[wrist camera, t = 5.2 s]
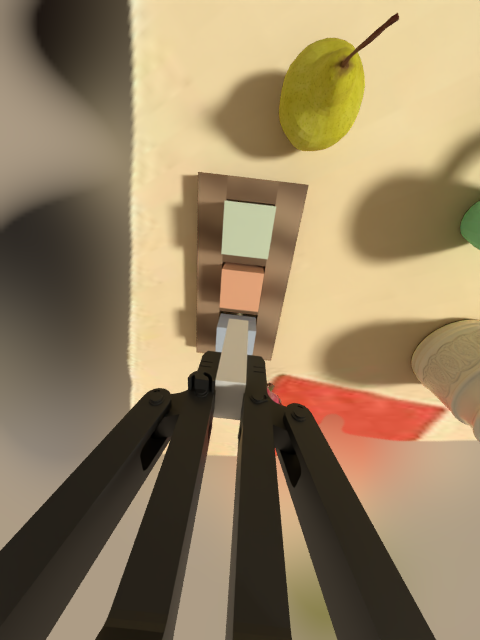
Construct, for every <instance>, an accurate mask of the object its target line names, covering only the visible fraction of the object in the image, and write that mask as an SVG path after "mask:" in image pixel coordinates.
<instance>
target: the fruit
mask: <svg viewBox="0 0 480 640" xmlns="http://www.w3.org/2000/svg"><path fill="white" fill-rule="evenodd" d="M398 20H399V16H398V13H397V14H395V15H393V16H392V17H391V18H390V19H389V20H388V21H387V22H386V23H384V24H383V25H382V26H381V27H379V28H378V29H377V30H376V31H375V32H374V33H373V34H372V35H370V36H369V37H368V38H367V39H366V40H365V41H364V42H363V43H362V44H360V45H359V46H358V47H357V48H356V49H355V48H354V46H353V45H351V44H350V43H348V42H347V41H345V40H341V39H338V38H326V39H322V40H319V41H316V42H314V43H312V44H310V45H308V46H307V47H306V48H305V49H304V50H303V51H302V52H301V53H300V54H299V55H298V56H297V58H296V59H295V60H294V61H293V63H292V64H291V65H290V67H289V69H288V71H287V73H286V75H285V78H284V82H283V86H282V91H281V97H280V105H279V119H280V124H281V126H282V129H283V131H284V133H285V135H286V136H287V138H288V139H289V141H290V142H291V144H292V145H293V146H294V147H296V148H297V149H299V150H302V151H317V150H323V149H326V148H328V147H330V146H332V145H334V144H335V143H337V142H338V141H339V140H340V139H341V138H342V137H344V136H345V135H346V134H347V133H348V131H349V130H350V128H351V127H352V125H353V123H354V122H355V119H356V117H357V114H358V112H359V109H360V105H361V102H362V98H363V93H364V87H365V80H364V71H363V66H362V62H361V59H360V57H359V54H358V51H359V50H361V49H362V48H364V47H365V46H367V45H368V44H369V43H371V42H372V41H373V40H374V39H375V38H376V37H377V36H379V35H380V34H381V33H382V32H383V31H384V30H385V29H386V28H387V27H389V26H390V25H392V24H393V23H395V22H396V21H398Z"/></svg>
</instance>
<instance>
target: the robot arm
mask: <svg viewBox="0 0 480 640" xmlns="http://www.w3.org/2000/svg"><path fill="white" fill-rule="evenodd" d="M247 346H248V321H247V320H238V319H229V321H228V325H227V330H226V335H225V339H224V344H223V348H222V352H215V351H207V352H206V353H205V354H204V355H203V356H202V359H201V362H200V365H199V368H198V371H195V372H193V373H192V374H190V376H189V377H188V390H186V391H184V392H181V393H176V394H170V392H169V391H168V390H166V389H162V388H157V389H153V390H151V391H149V392H147V393H146V394H145V395H144V396H143V397H142V398H141V399H140V400H139V401H138V402H137V404H136V405H135V406H134V407H133V408H132V409H131V410H130V411H129V412H128V413H127V414H126V415H125V417H124V418H123V419H122V420H121V421H120V422H119V423H118V424H117V425H116V426H115V427H114V428H113V429H112V431H111V432H110V433H109V434H108V435H107V436H106V437H105V438H104V439H103V440H102V441H101V443H100V444H99V445H98V446H97V447H96V448H95V449H94V450H93V451H92V452H91V453H90V455H89V456H88V457H87V458H86V459H85V460H84V461H83V462H82V463H81V464H80V465H79V466H78V467H77V468H76V470H75V471H74V472H73V473H72V474H71V475H70V476H69V477H68V478H67V479H66V480H65V481H64V483H63V484H62V485H61V486H60V487H59V488H58V489H57V490H56V491H55V492H54V493H53V494H52V496H51V497H50V498H49V499H48V500H47V501H46V502H45V503H44V504H43V505H42V506H41V507H40V508H39V510H38V511H37V512H36V513H35V514H34V515H33V516H32V517H31V518H30V519H29V520H28V522H27V523H26V524H25V525H24V526H23V527H22V528H21V529H20V530H19V531H18V532H17V533H16V534H15V536H14V537H13V538H12V539H11V540H10V541H9V542H8V543H7V544H6V545H5V547H3V549H2V550H1V551H0V640H46V638H47V637H48V635H49V634H50V632H51V630H52V629H53V627H54V626H55V624H56V622H57V621H58V619H59V618H60V616H61V614H62V613H63V611H64V610H65V608H66V606H67V605H68V603H69V602H70V600H71V598H72V597H73V595H74V594H75V592H76V590H77V589H78V587H79V585H80V583H81V582H82V580H83V579H84V578H85V576H86V574H87V573H88V571H89V569H90V568H91V566H92V564H93V563H94V561H95V560H96V558H97V557H98V555H99V553H100V552H101V550H102V549H103V547H104V545H105V544H106V542H107V541H108V539H109V537H110V536H111V534H112V533H113V531H114V529H115V528H116V526H117V524H118V523H119V521H120V520H121V518H122V517H123V515H124V513H125V512H126V510H127V508H128V507H129V505H130V504H131V502H132V500H133V499H134V497H135V496H136V494H137V492H138V491H139V489H140V488H141V486H142V484H143V483H144V481H145V480H146V478H147V476H148V475H149V473H150V472H151V470H152V468H153V467H154V465H155V464H156V462H157V460H158V459H159V457H160V456H161V454H162V452H163V451H164V449H165V448H166V446H167V444H168V443H169V441H170V443H169V446H168V449H167V451H166V454H165V457H164V460H163V463H162V466H161V468H160V471H159V474H158V477H157V480H156V483H155V485H154V488H153V491H152V494H151V497H150V500H149V502H148V505H147V508H146V511H145V514H144V517H143V519H142V522H141V525H140V528H139V531H138V534H137V537H136V539H135V542H134V545H133V548H132V551H131V553H130V556H129V559H128V562H127V565H126V568H125V571H124V574H123V576H122V579H121V582H120V585H119V588H118V590H117V593H116V596H115V599H114V602H113V604H112V607H111V610H110V612H109V615H108V618H107V620H106V622H105V624H104V626H103V628H102V629H101V631H100V632H99V634H98V636H97V637H96V639H95V640H173V636H174V630H175V624H176V619H177V614H178V608H179V603H180V597H181V592H182V587H183V581H184V576H185V570H186V564H187V559H188V554H189V548H190V543H191V538H192V532H193V527H194V522H195V516H196V510H197V505H198V500H199V494H200V489H201V483H202V478H203V473H204V467H205V462H206V456H207V451H208V446H209V440H210V435H211V429H212V420H213V417H217V418H226V419H235V420H240V427H239V433H238V454H237V470H236V486H235V500H234V515H233V516H234V517H233V532H232V547H231V562H230V563H231V564H230V577H229V592H228V593H229V594H228V608H227V624H226V639H225V640H292V637H291V628H290V617H289V606H288V595H287V583H286V572H285V561H284V550H283V538H282V526H281V515H280V504H279V494H278V493H279V492H278V482H277V470H276V458H275V448H276V452H277V455H278V458H279V461H280V464H281V467H282V470H283V473H284V476H285V479H286V482H287V486H288V488H289V492H290V495H291V498H292V501H293V504H294V507H295V510H296V513H297V516H298V520H299V522H300V525H301V529H302V532H303V535H304V538H305V541H306V544H307V547H308V550H309V553H310V556H311V559H312V562H313V566H314V569H315V572H316V575H317V578H318V581H319V584H320V587H321V590H322V593H323V596H324V600H325V603H326V606H327V609H328V612H329V615H330V618H331V621H332V624H333V627H334V630H335V633H336V636H337V639H338V640H436V639H435V637H434V635H433V633H432V632H431V630H430V628H429V626H428V624H427V623H426V621H425V619H424V617H423V615H422V613H421V612H420V610H419V608H418V606H417V604H416V602H415V601H414V599H413V597H412V595H411V593H410V592H409V590H408V588H407V586H406V584H405V582H404V581H403V579H402V577H401V575H400V573H399V572H398V570H397V568H396V566H395V564H394V562H393V561H392V559H391V557H390V555H389V553H388V552H387V550H386V548H385V546H384V544H383V542H382V541H381V539H380V537H379V535H378V534H377V532H376V530H375V528H374V526H373V524H372V523H371V521H370V519H369V517H368V515H367V513H366V512H365V510H364V508H363V506H362V505H361V502H360V501H359V499H358V497H357V495H356V493H355V492H354V490H353V488H352V486H351V484H350V482H349V481H348V479H347V477H346V475H345V473H344V472H343V470H342V468H341V466H340V464H339V463H338V461H337V459H336V457H335V455H334V453H333V452H332V450H331V448H330V446H329V445H328V442H327V441H326V439H325V437H324V435H323V433H322V432H321V430H320V428H319V426H318V424H317V422H316V421H315V419H314V417H313V415H312V413H311V412H310V411H309V409H307V408H306V407H305V406H303V405H301V404H297V403H292V404H289V405H288V406H287V407H285V406H283V405H280V404H278V403H276V402H274V401H273V400H272V399H271V398H270V397H269V395H268V392H267V381H266V369H265V361H264V360H263V358H262V357H261V356H254V355H247Z"/></svg>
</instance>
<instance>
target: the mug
mask: <svg viewBox="0 0 480 640" xmlns="http://www.w3.org/2000/svg"><path fill="white" fill-rule="evenodd" d="M460 231H461V234H462V236H463V237H464V238H465V239H466V240H467V241H468V242H470V243H471V244H472V245H473V246H474V247H476V248H477V249H479V250H480V201H478V202H477V203H475V204H474V205H473V206H471V207H470V209H469V210H468V211H467V212H466V213H465V215H464V217H463V219H462V221H461V225H460Z"/></svg>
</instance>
